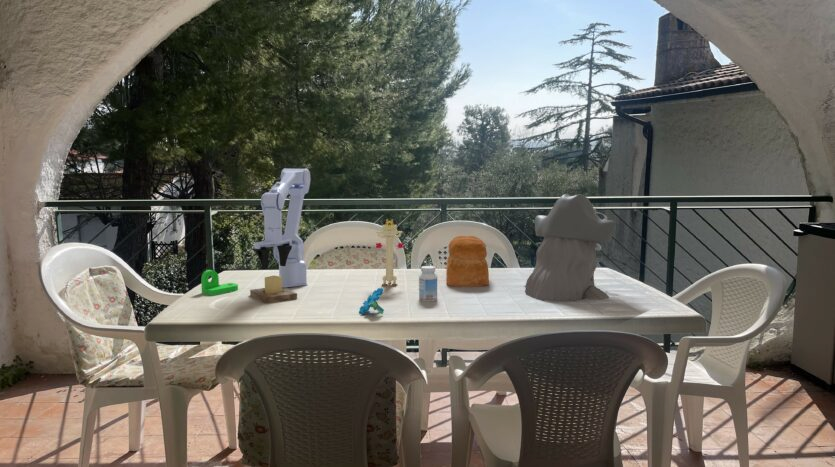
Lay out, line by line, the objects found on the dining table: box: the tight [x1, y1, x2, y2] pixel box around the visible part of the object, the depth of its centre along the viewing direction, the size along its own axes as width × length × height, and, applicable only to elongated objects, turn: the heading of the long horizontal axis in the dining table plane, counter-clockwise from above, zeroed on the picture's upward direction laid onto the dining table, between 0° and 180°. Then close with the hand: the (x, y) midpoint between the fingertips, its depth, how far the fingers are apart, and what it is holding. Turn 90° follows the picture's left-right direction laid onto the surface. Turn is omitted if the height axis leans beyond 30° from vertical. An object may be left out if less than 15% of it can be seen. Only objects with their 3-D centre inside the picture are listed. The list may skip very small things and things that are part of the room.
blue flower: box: [358, 286, 385, 315], centre depth 180 cm, size 11×6×10 cm
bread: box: [445, 235, 490, 288], centre depth 228 cm, size 16×26×17 cm, turn 177°
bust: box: [523, 193, 617, 302], centre depth 205 cm, size 34×34×35 cm
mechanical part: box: [200, 269, 239, 296], centre depth 209 cm, size 12×6×8 cm, turn 143°
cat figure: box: [375, 218, 404, 287], centre depth 220 cm, size 10×9×25 cm
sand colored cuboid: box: [264, 275, 282, 294], centre depth 200 cm, size 4×4×7 cm
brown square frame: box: [249, 287, 298, 304], centre depth 200 cm, size 11×14×2 cm
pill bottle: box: [418, 265, 438, 302], centre depth 197 cm, size 6×6×11 cm
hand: (274, 267), depth 204 cm, fingers open, 7 cm apart
